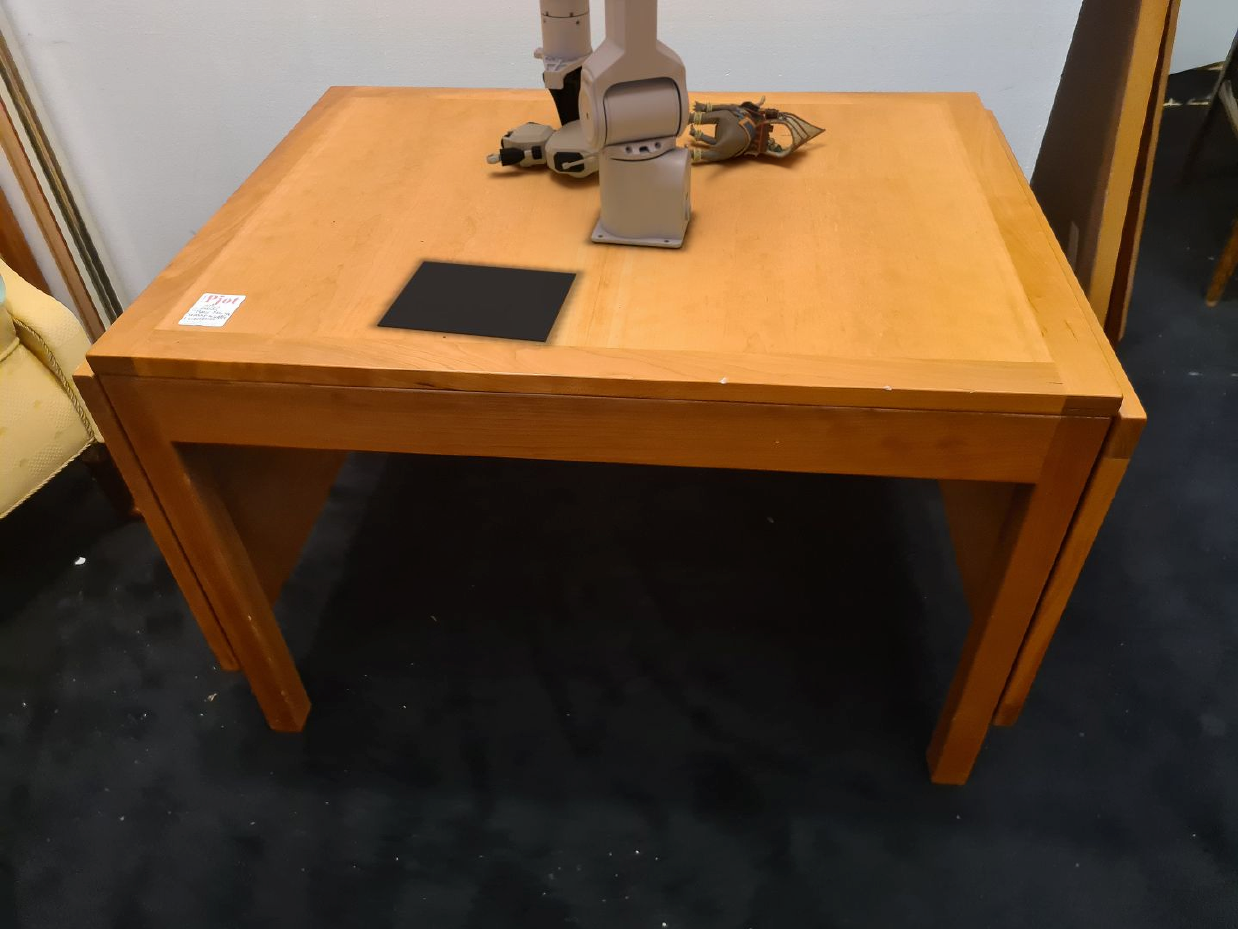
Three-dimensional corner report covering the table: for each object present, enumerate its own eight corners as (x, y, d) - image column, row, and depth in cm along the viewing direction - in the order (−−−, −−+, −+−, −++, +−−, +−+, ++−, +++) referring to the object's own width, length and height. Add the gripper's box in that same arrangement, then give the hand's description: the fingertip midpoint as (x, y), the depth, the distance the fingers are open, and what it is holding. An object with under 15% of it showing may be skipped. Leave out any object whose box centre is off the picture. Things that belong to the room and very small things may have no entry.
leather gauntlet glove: (696, 77, 112) (828, 83, 110) (693, 125, 116) (821, 132, 114) (680, 126, 97) (833, 134, 95) (677, 179, 101) (825, 188, 99)
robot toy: (484, 185, 104) (602, 191, 99) (477, 148, 101) (598, 152, 96) (524, 146, 112) (634, 149, 108) (518, 110, 109) (631, 112, 105)
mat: (576, 274, 86) (576, 273, 86) (545, 341, 77) (545, 340, 77) (423, 261, 89) (423, 260, 89) (377, 325, 80) (377, 324, 80)
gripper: (547, -8, 106) (555, 105, 115) (513, 27, 96) (525, 149, 105) (603, -6, 105) (607, 108, 114) (576, 30, 94) (582, 152, 104)
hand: (571, 128), depth 109 cm, fingers closed
